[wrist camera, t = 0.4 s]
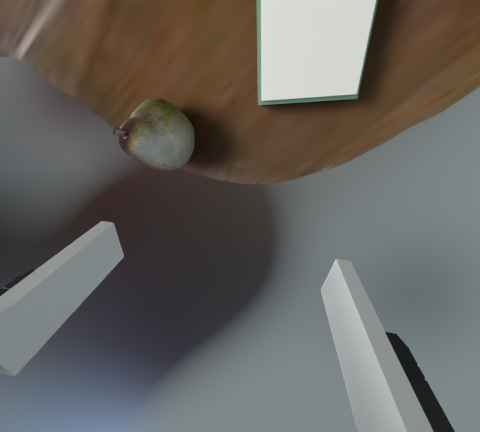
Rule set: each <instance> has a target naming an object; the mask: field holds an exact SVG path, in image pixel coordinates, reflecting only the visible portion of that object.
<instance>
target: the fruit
mask: <svg viewBox="0 0 480 432" xmlns="http://www.w3.org/2000/svg"><path fill="white" fill-rule="evenodd" d="M114 135H118V140H119V144H120V146H121V148H122V149H123V150H124V151H125V152H126V153H127V154H129V155H130V156H132V157H134V159H136V160H137V161H138V162H139V163H141V164H143V165H145V166H147V167H151V168H154V169H157V170H171V169H176V168H179V167H181V166H183V165H184V164H186V163H187V161H188V160H189V158H190V157H191V155H192V153H193V150H194V128H193V126H192V124H191V123H190V121H189V120H188V118H187V117H186V116H185V115H184V114H183V113H182V112H181V111H180V110H179V109H178V108H177V107H175V106H174V105H172V104H171V103H169V102H167V101H165V100H164V99H161V98H153V99H149V100H146V101H145V102H143V103H142V104H141V105H140V106H139V107H138V108H137V109H135V111H134V112H133V113H132V115H131V117H130V118H129V119H128V120H126V121H125V122H124V123H123V125H122V126H121V127H120V129H119V128H116V127H114Z"/></svg>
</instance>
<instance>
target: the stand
mask: <svg viewBox="0 0 480 432" xmlns="http://www.w3.org/2000/svg"><path fill="white" fill-rule="evenodd" d="M377 4H378V0H257V65H258V105H270V104H284V103H299V102H314V101H328V100H343V99H358V94H359V90H360V85H361V80H362V75H363V71H364V66H365V61H366V56H367V52H368V47H369V42H370V37H371V33H372V28H373V23H374V18H375V14H376V9H377Z"/></svg>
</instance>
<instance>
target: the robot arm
mask: <svg viewBox="0 0 480 432" xmlns="http://www.w3.org/2000/svg"><path fill="white" fill-rule="evenodd" d="M123 257H124V255H123V252H122V249H121V246H120V242H119V239H118V236H117V232H116V229H115V226H114V223H110V222H104V221H101V222H100V223H99V224H97V225H96V226H94V227H93V228H92V229H90V230H89V231H88V232H86V233H85V234H84V235H83V236H81V237H80V238H78V239H77V240H76V241H74V242H73V243H72V244H70V245H69V246H67V247H66V248H65V249H63V250H62V251H61V252H59V253H58V254H57V255H55V256H54V257H53V258H51V259H50V260H49V261H47V262H46V263H45V264H43V265H42V266H41V267H39V268H38V269H37V270H34V269H33V270H31V271H29V272H27V273H25V274H23V275H21V276H19V277H17V278H16V279H14V280H13V281H11V282H10V283H8V284H7V285H6V286H4V288H3V289H0V373H3V374H8V375H12V376H16V375H17V374H18V372H19V371H20V370H21V369H22V368H23V367H24V366H25V365H26V364H27V363H28V361H29V360H30V359H31V358H32V357H33V356H34V355H35V354H36V353H37V352H38V350H39V349H40V348H41V347H42V346H43V345H44V344H45V343H46V342H47V341H48V339H49V338H50V337H51V336H52V335H53V334H54V333H55V332H56V331H57V330H58V329H59V327H60V326H61V325H62V324H63V323H64V322H65V321H66V320H67V319H68V318H69V316H70V315H71V314H72V313H73V312H74V311H75V310H76V309H77V308H78V306H79V305H80V304H81V303H82V302H83V301H84V300H85V299H86V298H87V297H88V295H89V294H90V293H91V292H92V291H93V290H94V289H95V288H96V287H97V286H98V285H99V284H100V282H101V281H102V280H103V279H104V278H105V277H106V276H107V275H108V274H109V272H110V271H111V270H112V269H113V268H114V267H115V266H116V265H117V264H118V263H119V261H120V260H121V259H122V258H123ZM321 293H322V297H323V301H324V305H325V309H326V313H327V316H328V320H329V324H330V328H331V331H332V335H333V339H334V343H335V346H336V351H337V354H338V358H339V362H340V366H341V370H342V374H343V377H344V381H345V385H346V389H347V393H348V396H349V400H350V404H351V408H352V412H353V415H354V419H355V423H356V427H357V430H358V432H455V431H454V430H453V428H452V426H451V424H450V422H449V421H448V419H447V417H446V415H445V413H444V412H443V410H442V408H441V406H440V404H439V402H438V401H437V399H436V397H435V395H434V393H433V392H432V390H431V388H430V386H429V384H428V383H427V381H425V379H424V378H425V377H424V375H423V373H422V372H421V370H420V368H419V367H418V366H417V363H416V361H415V359H414V357H413V355H412V353H411V352H410V350H409V348H408V347H407V346H406V345H405V344H404V342H403V341H402V340H401V339H400V338H399V337H398V336H397V334H393V333H388V332H385V331H384V329H383V327H382V325H381V323H380V321H379V319H378V317H377V315H376V313H375V311H374V309H373V307H372V305H371V303H370V300H369V298H368V296H367V294H366V292H365V290H364V288H363V286H362V284H361V282H360V280H359V278H358V276H357V274H356V272H355V270H354V268H353V266H352V264H351V262H350V261H348V260H341V259H336V260H335V262H334V264H333V266H332V268H331V270H330V272H329V274H328V276H327V278H326V280H325V283H324V284H323V286H322V288H321Z"/></svg>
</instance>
